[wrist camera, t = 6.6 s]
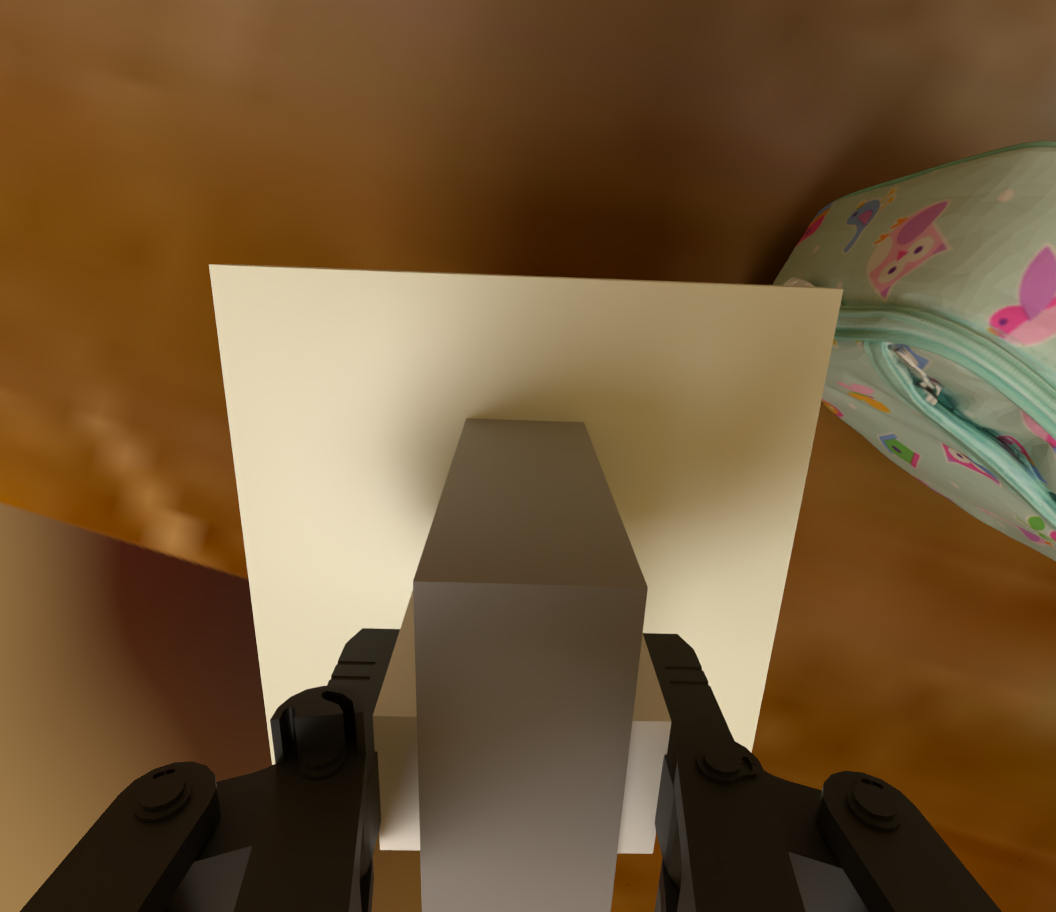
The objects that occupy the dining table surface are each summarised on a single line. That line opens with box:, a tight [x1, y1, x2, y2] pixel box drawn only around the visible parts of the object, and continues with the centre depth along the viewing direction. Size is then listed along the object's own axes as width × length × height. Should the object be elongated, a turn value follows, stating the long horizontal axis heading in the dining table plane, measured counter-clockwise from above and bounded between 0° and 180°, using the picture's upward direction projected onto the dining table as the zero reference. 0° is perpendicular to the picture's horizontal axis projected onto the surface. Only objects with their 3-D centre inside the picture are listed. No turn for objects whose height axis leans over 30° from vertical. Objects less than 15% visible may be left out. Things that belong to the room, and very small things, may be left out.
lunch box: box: [773, 141, 1056, 561], centre depth 30 cm, size 27×10×21 cm, turn 56°
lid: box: [209, 264, 843, 912], centre depth 14 cm, size 15×15×10 cm
